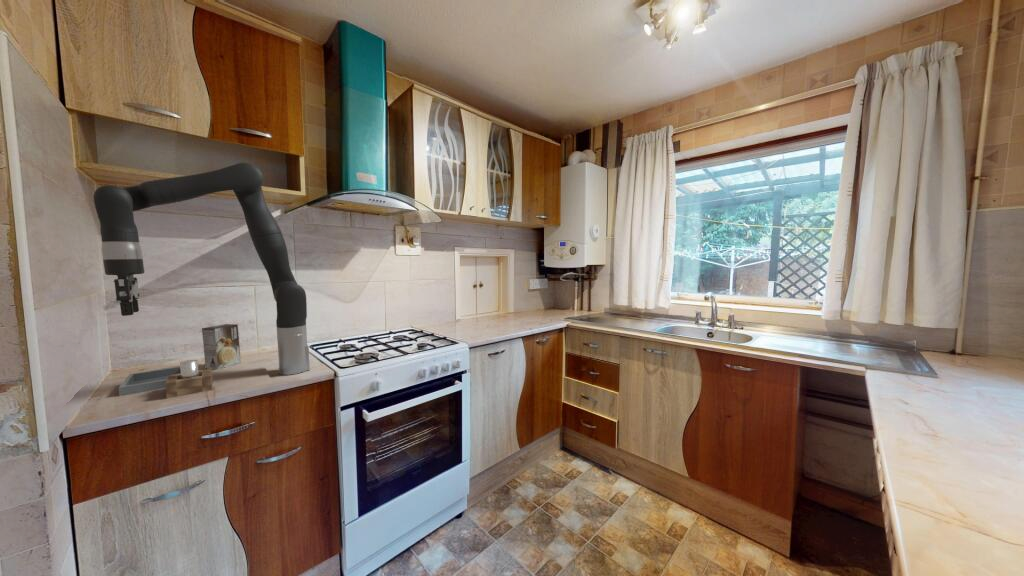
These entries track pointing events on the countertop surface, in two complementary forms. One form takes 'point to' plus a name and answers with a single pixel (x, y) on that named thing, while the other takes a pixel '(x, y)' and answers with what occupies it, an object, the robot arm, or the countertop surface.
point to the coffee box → (221, 346)
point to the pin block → (189, 384)
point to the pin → (189, 369)
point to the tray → (146, 381)
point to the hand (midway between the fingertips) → (130, 313)
